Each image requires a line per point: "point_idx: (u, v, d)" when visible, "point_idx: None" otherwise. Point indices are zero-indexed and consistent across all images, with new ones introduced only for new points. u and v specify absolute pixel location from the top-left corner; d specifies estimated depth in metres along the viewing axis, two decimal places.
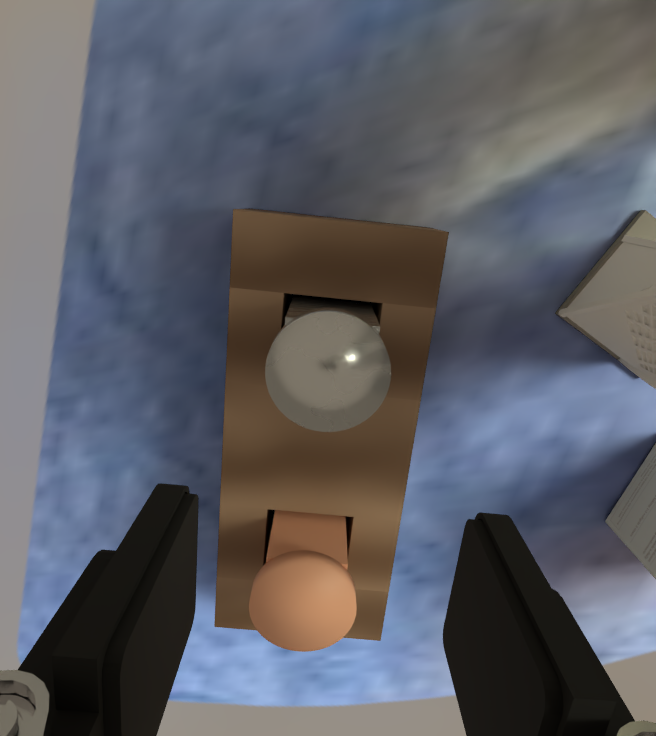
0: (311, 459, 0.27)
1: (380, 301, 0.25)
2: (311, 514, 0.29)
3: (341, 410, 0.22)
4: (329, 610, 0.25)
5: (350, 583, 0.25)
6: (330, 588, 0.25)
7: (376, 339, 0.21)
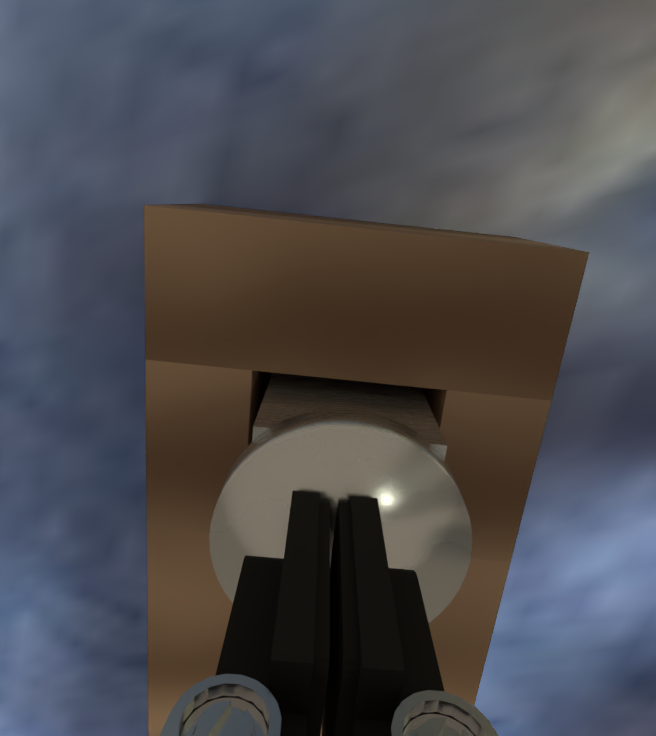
0: None
1: (442, 387, 0.13)
2: None
3: None
4: None
5: None
6: None
7: (444, 484, 0.10)
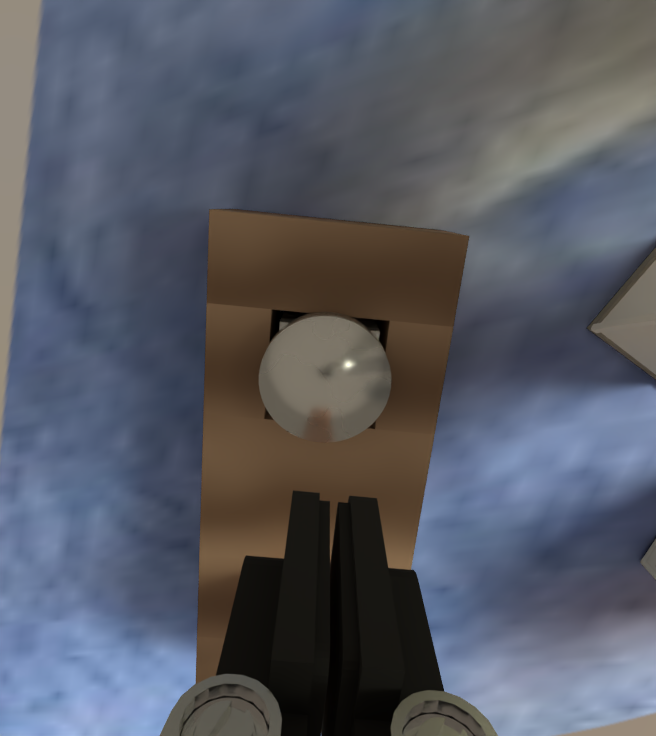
0: None
1: (387, 318, 0.21)
2: None
3: (339, 419, 0.21)
4: None
5: None
6: None
7: (375, 345, 0.20)
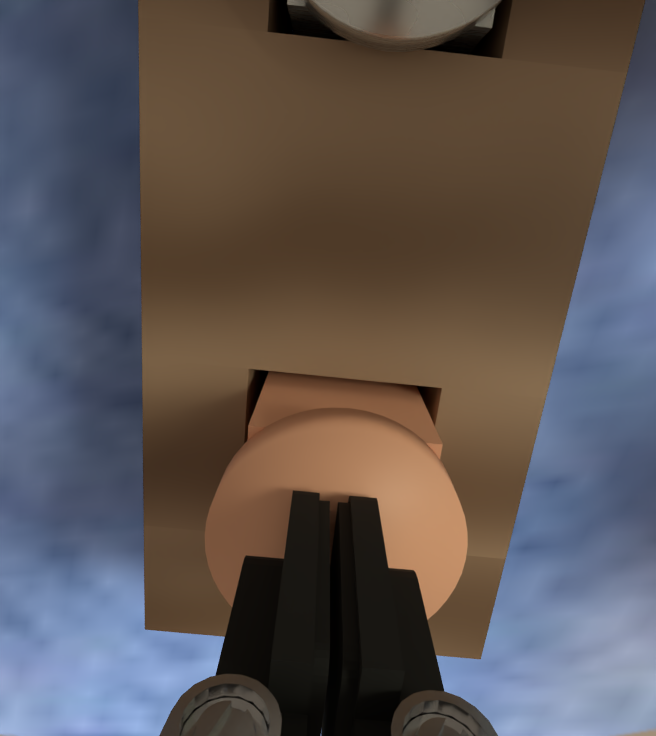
0: (351, 239, 0.12)
1: None
2: None
3: None
4: (402, 552, 0.10)
5: (452, 486, 0.10)
6: (406, 495, 0.10)
7: None
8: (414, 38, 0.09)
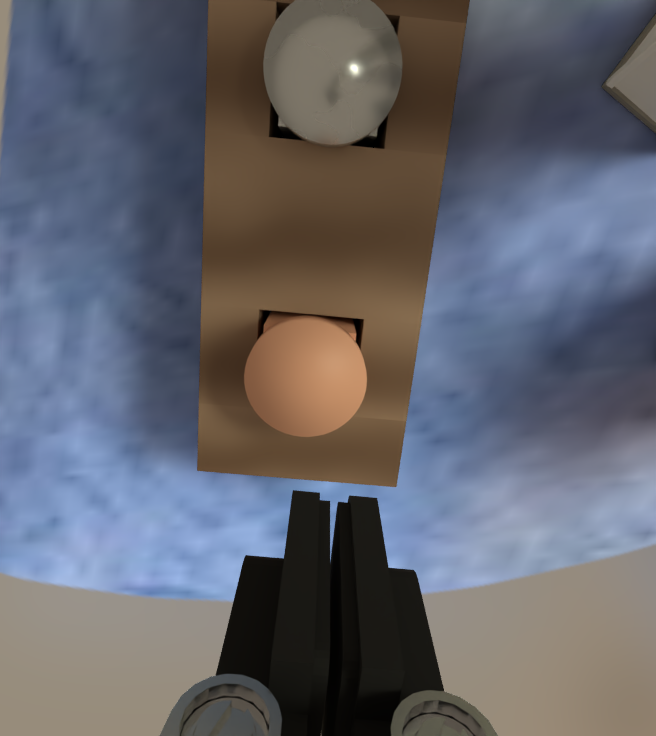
0: (313, 238, 0.22)
1: (397, 13, 0.20)
2: None
3: (347, 116, 0.20)
4: (336, 382, 0.22)
5: (359, 350, 0.22)
6: (337, 352, 0.21)
7: (386, 22, 0.19)
8: (337, 144, 0.20)
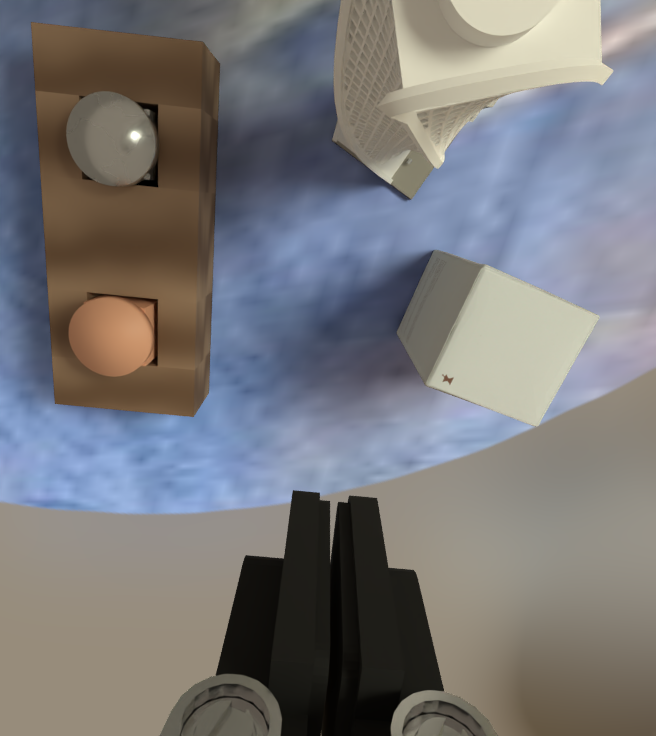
0: (117, 245, 0.34)
1: (156, 102, 0.31)
2: None
3: (123, 168, 0.31)
4: (129, 339, 0.33)
5: (144, 319, 0.33)
6: (127, 320, 0.33)
7: (140, 112, 0.30)
8: (119, 186, 0.32)
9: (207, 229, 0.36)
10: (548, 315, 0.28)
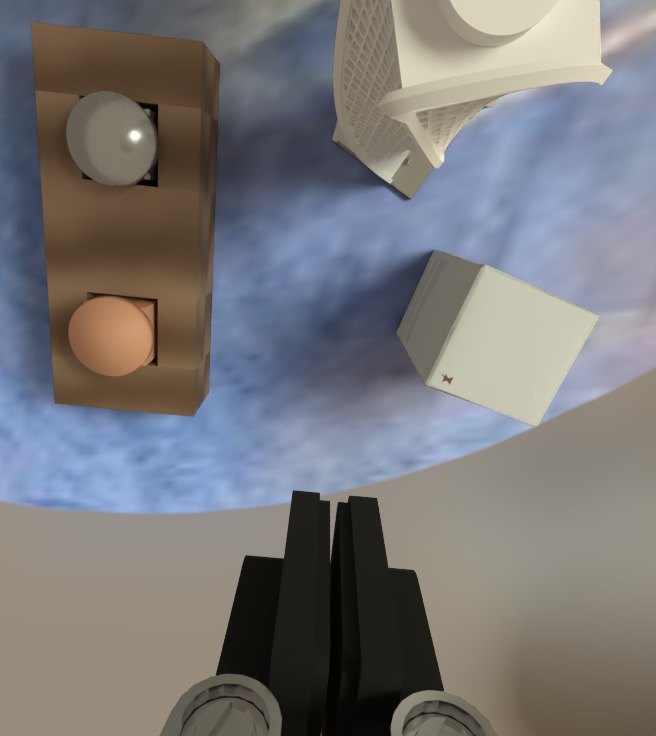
0: (117, 245, 0.34)
1: (156, 102, 0.31)
2: None
3: (123, 168, 0.31)
4: (129, 339, 0.33)
5: (144, 318, 0.33)
6: (127, 320, 0.33)
7: (140, 111, 0.30)
8: (119, 185, 0.32)
9: (207, 229, 0.36)
10: (548, 315, 0.28)
